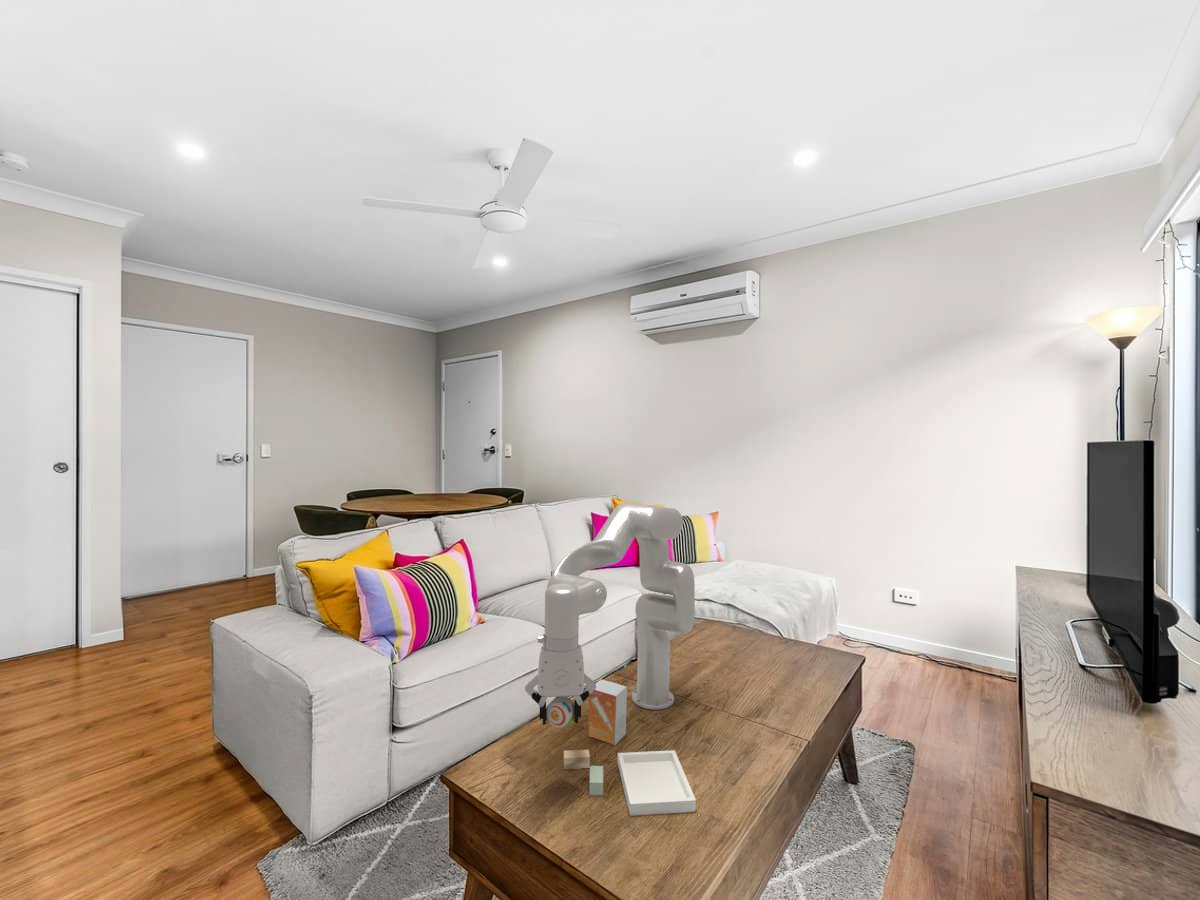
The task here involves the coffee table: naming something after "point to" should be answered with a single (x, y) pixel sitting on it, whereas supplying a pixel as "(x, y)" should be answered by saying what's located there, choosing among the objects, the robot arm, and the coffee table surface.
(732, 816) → the coffee table surface
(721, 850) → the coffee table surface
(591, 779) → the sage block
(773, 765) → the coffee table surface
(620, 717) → the small box
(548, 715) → the roller toy
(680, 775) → the tray
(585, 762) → the maple block
